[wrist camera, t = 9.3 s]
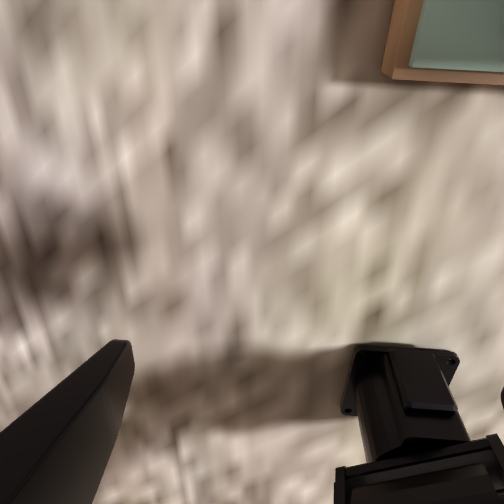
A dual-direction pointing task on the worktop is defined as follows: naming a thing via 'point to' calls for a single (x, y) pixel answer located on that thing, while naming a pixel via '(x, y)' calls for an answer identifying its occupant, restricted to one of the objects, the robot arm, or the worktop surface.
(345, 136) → the worktop surface
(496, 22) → the stand
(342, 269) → the worktop surface
